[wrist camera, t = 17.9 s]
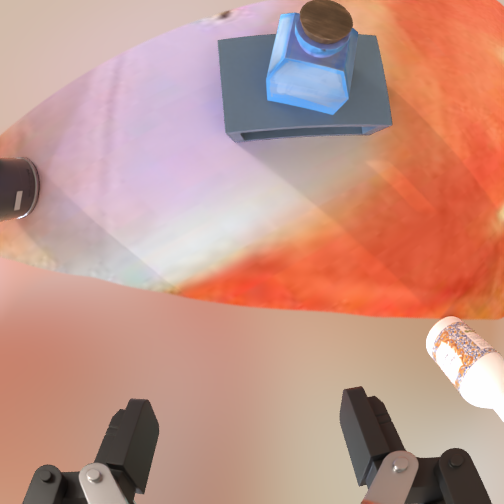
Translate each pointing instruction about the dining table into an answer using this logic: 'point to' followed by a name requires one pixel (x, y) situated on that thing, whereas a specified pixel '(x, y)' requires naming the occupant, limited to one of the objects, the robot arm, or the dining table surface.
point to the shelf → (293, 117)
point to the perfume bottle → (313, 57)
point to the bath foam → (468, 363)
